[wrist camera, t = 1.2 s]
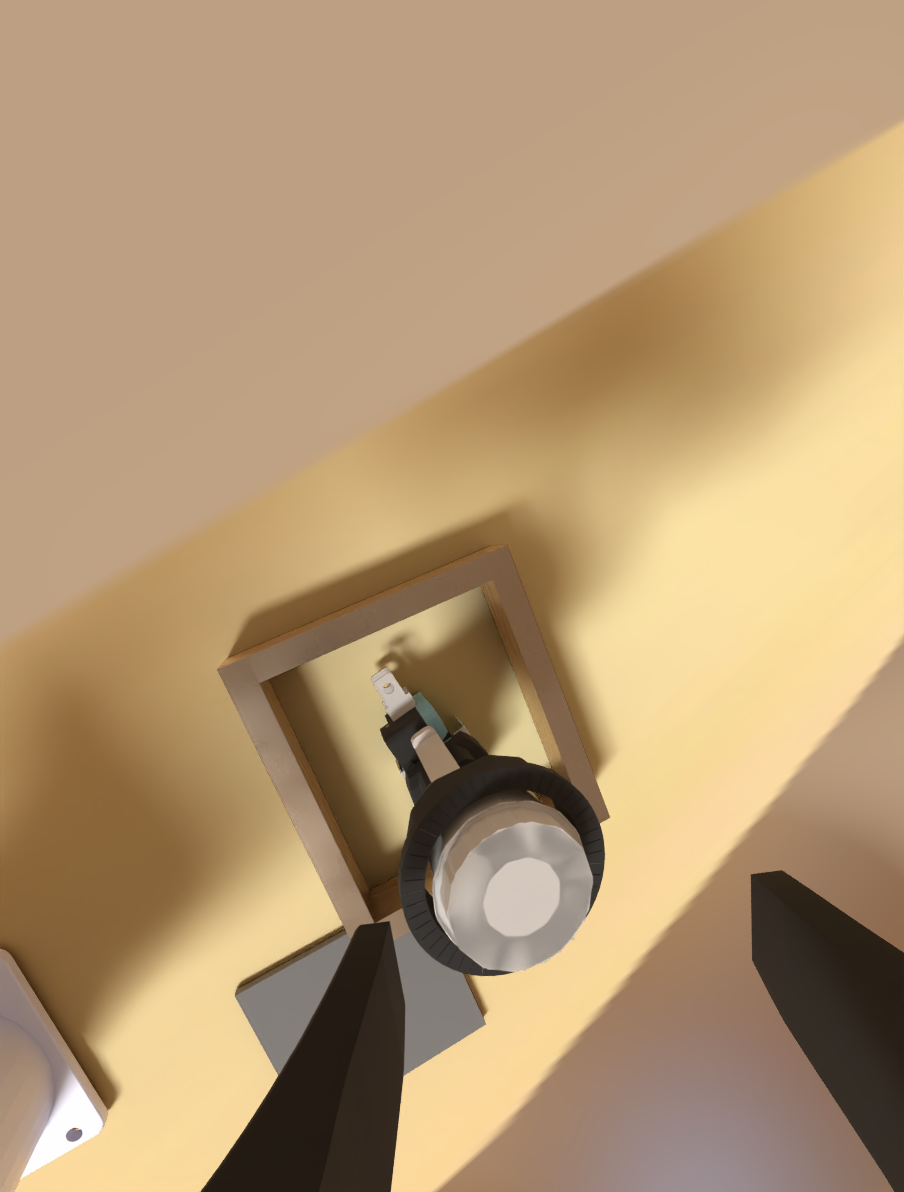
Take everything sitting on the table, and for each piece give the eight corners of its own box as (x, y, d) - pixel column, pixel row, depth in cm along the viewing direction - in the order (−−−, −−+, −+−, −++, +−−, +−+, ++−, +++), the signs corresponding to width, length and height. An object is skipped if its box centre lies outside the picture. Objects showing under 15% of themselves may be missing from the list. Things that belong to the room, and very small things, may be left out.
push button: (321, 707, 21) (322, 841, 11) (433, 630, 21) (528, 690, 12) (413, 834, 22) (488, 1055, 12) (516, 757, 23) (662, 904, 13)
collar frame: (356, 923, 22) (359, 959, 20) (227, 658, 20) (217, 669, 18) (586, 796, 24) (610, 817, 22) (490, 545, 22) (506, 544, 20)
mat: (310, 1126, 22) (310, 1133, 21) (235, 989, 21) (234, 996, 20) (483, 1018, 23) (485, 1024, 23) (423, 886, 22) (425, 890, 22)
